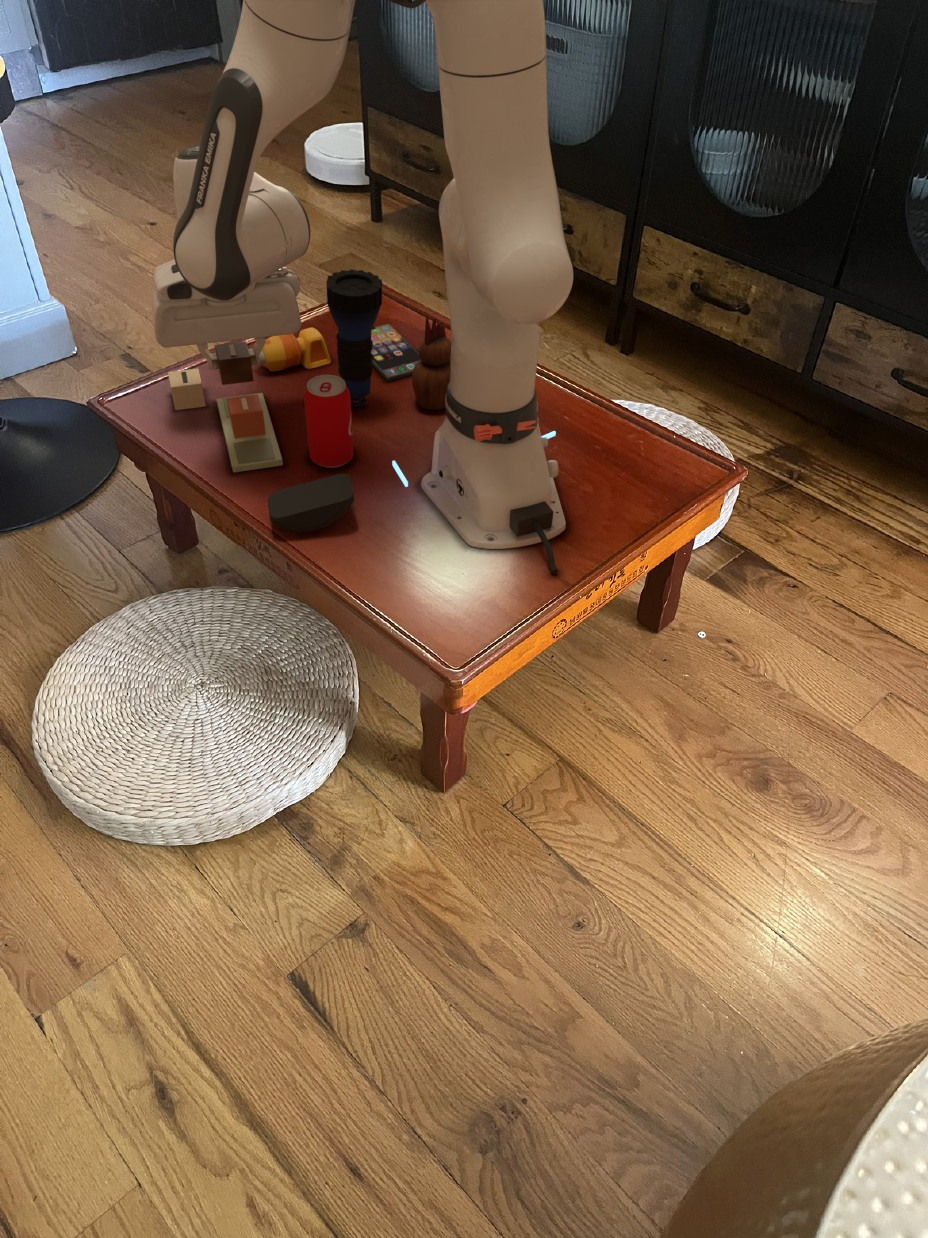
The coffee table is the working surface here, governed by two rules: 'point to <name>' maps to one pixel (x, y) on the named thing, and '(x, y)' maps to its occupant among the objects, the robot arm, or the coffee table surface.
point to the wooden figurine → (432, 368)
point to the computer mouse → (311, 504)
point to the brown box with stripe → (234, 363)
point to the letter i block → (186, 389)
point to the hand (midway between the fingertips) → (234, 365)
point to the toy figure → (295, 351)
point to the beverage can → (329, 421)
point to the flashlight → (354, 327)
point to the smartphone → (392, 353)
